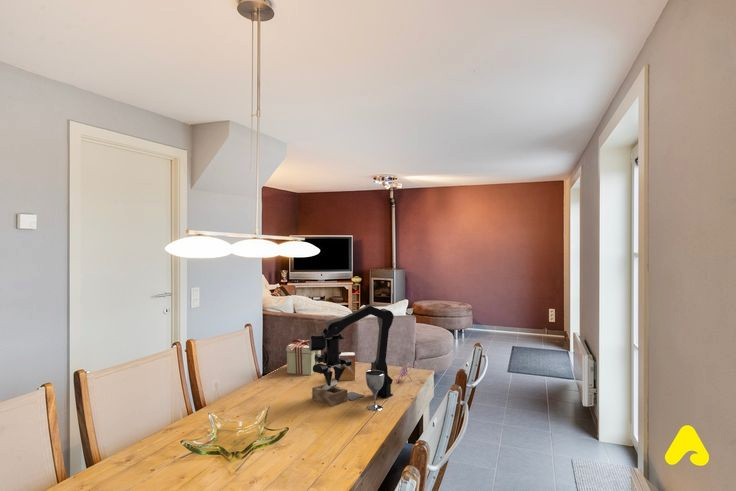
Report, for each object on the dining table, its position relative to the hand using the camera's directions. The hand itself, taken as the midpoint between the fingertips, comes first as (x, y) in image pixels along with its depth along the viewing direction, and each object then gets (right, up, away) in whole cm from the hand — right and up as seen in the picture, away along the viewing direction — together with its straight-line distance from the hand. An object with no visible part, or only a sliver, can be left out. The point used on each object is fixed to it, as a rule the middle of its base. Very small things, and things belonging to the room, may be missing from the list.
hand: (332, 384), depth 188 cm
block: (-1, -3, +1) cm, 3 cm away
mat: (+9, -7, +6) cm, 13 cm away
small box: (+5, -8, +32) cm, 33 cm away
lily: (+34, -8, +29) cm, 45 cm away
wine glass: (+19, -8, -7) cm, 22 cm away
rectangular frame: (-1, -7, +1) cm, 7 cm away
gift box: (-19, -8, +45) cm, 49 cm away
